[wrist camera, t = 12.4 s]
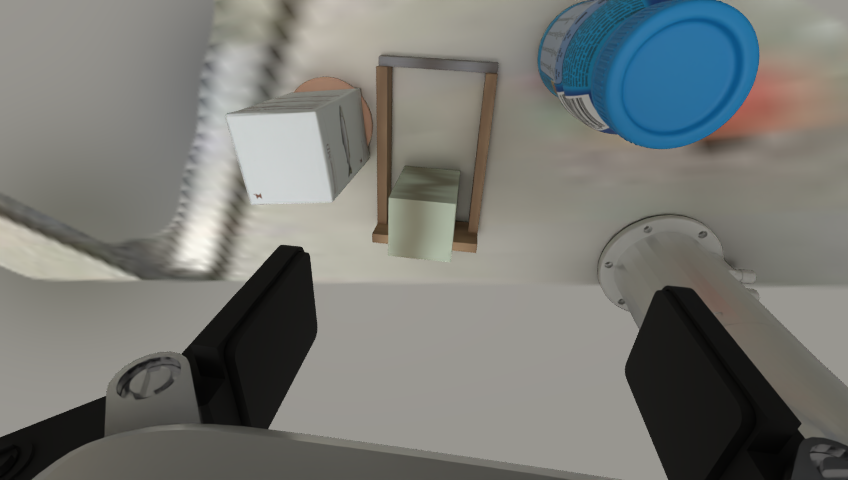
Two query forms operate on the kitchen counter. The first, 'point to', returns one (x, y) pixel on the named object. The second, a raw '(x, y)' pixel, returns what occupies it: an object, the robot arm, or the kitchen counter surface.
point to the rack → (427, 176)
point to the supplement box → (300, 146)
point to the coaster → (338, 84)
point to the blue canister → (650, 67)
